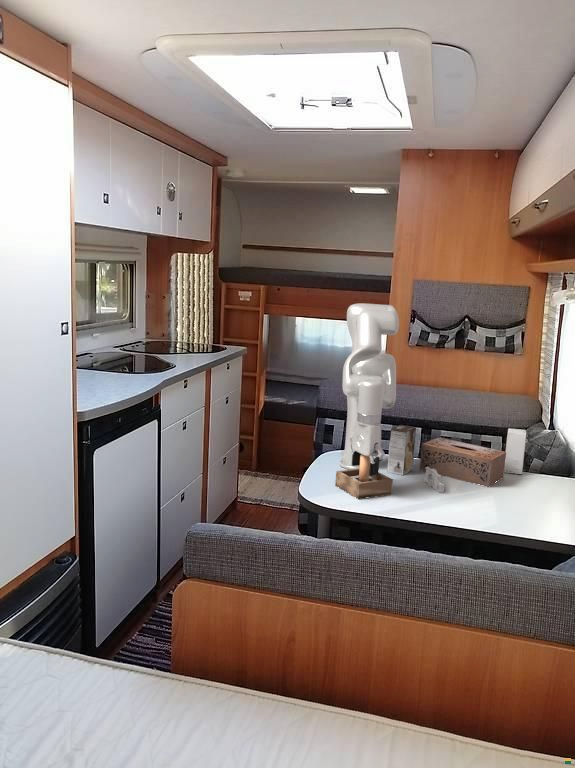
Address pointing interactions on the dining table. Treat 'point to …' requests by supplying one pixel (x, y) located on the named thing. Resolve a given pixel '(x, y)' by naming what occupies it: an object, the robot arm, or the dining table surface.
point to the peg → (364, 468)
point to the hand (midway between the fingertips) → (364, 470)
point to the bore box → (363, 484)
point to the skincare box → (515, 451)
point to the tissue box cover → (463, 461)
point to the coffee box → (401, 449)
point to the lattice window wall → (434, 479)
